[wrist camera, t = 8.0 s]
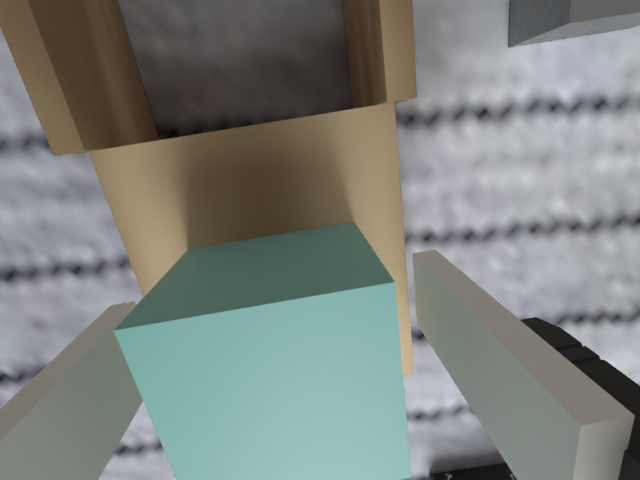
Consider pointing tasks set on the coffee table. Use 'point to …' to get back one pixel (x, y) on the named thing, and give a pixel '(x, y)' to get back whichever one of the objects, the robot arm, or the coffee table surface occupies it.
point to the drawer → (223, 141)
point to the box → (477, 473)
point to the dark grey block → (568, 19)
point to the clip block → (274, 360)
